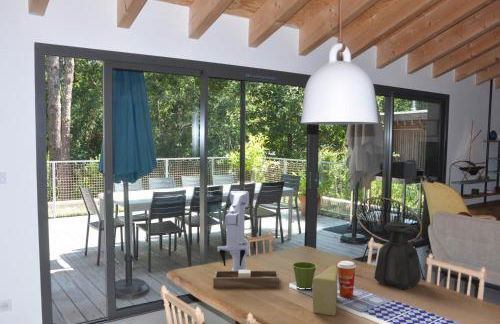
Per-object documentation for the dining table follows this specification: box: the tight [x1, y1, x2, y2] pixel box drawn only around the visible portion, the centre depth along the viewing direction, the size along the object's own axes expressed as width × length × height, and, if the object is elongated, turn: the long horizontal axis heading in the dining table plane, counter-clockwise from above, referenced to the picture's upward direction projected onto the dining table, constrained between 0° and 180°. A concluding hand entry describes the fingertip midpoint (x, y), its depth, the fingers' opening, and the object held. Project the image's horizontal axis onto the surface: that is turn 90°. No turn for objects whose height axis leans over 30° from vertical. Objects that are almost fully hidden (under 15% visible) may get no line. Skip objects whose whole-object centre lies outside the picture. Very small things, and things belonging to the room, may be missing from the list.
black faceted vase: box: [373, 221, 422, 291], centre depth 210 cm, size 18×16×30 cm
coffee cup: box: [336, 260, 357, 298], centre depth 195 cm, size 8×8×15 cm
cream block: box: [238, 269, 252, 278], centre depth 212 cm, size 6×6×4 cm
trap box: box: [212, 270, 280, 288], centre depth 212 cm, size 12×32×4 cm, turn 90°
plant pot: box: [292, 261, 318, 289], centre depth 205 cm, size 12×12×11 cm
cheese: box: [311, 264, 338, 317], centre depth 183 cm, size 22×10×15 cm, turn 157°
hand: (232, 265), depth 208 cm, fingers open, 7 cm apart
